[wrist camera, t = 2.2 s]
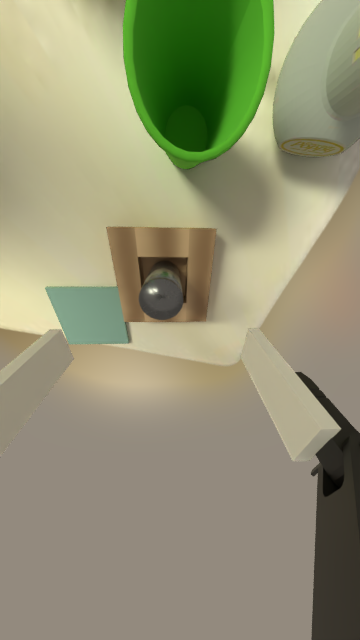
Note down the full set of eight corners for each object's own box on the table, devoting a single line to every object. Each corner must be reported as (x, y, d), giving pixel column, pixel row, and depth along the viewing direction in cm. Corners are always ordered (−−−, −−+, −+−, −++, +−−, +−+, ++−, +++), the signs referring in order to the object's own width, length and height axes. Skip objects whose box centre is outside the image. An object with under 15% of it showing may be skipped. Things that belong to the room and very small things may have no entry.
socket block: (129, 312, 30) (124, 321, 27) (114, 226, 23) (106, 227, 20) (202, 312, 31) (205, 321, 28) (210, 228, 24) (216, 228, 21)
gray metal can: (150, 290, 28) (141, 320, 19) (148, 260, 25) (135, 278, 17) (179, 290, 28) (182, 319, 20) (180, 260, 26) (183, 279, 17)
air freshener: (252, 150, 20) (312, 94, 11) (280, 32, 16) (411, -202, 7) (333, 164, 21) (446, 122, 12) (379, 56, 17) (602, -124, 8)
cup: (131, 133, 19) (88, 41, 9) (192, 48, 16) (221, -211, 6) (181, 206, 22) (187, 192, 13) (238, 147, 20) (299, 75, 10)
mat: (70, 342, 33) (69, 344, 33) (47, 286, 27) (44, 287, 27) (129, 341, 34) (128, 343, 33) (118, 286, 28) (118, 288, 27)
